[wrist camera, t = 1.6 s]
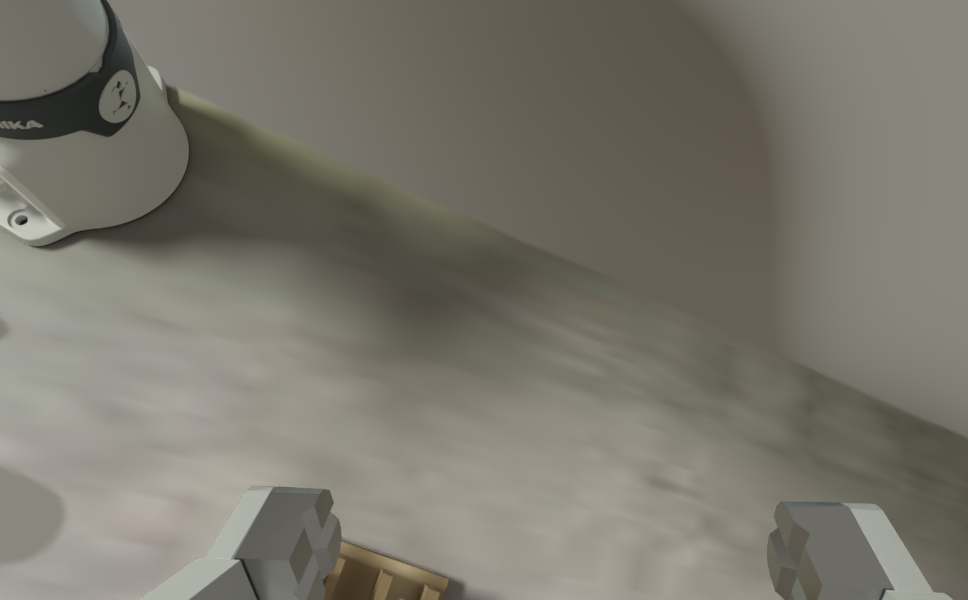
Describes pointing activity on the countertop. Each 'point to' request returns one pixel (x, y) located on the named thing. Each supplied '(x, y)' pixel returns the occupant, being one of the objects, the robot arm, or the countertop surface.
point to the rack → (379, 578)
